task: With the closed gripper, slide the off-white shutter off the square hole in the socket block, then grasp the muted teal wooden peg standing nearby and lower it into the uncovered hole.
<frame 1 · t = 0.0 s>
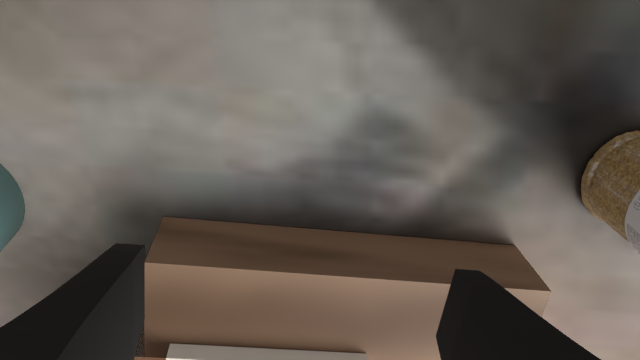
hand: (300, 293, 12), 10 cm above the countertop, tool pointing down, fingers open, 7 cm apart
sprinkles bottle: (622, 173, 23), on the countertop
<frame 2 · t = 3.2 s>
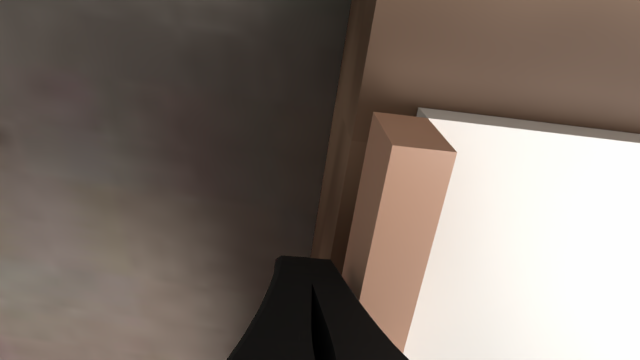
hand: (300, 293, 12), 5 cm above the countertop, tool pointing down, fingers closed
shutter: (527, 307, 13), point 5 cm above the countertop, slide at 0.4 cm, touching gripper
socket block: (551, 220, 18), on the countertop
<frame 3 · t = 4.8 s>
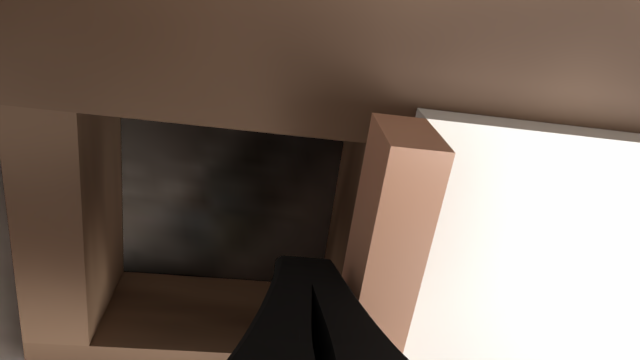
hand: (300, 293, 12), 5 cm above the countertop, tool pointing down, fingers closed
shutter: (527, 307, 13), point 5 cm above the countertop, slide at 8.2 cm, touching gripper
socket block: (324, 200, 17), on the countertop
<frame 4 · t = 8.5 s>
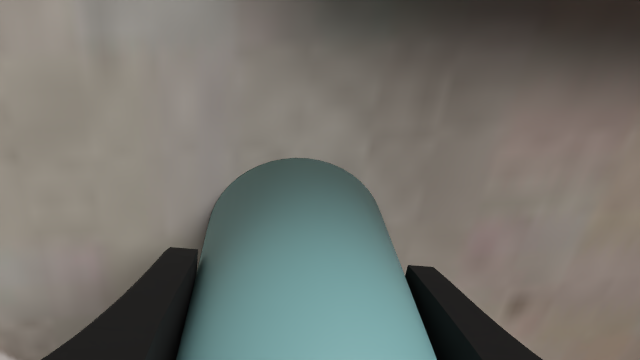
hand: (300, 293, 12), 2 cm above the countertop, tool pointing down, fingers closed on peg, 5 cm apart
peg: (296, 239, 14), on the countertop, touching gripper
when the fingers open (4 cm above the countertop, at t = 14.4 s): peg drops 2 cm, resting in socket block.
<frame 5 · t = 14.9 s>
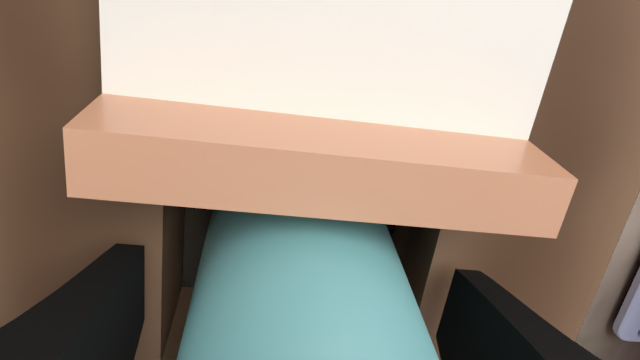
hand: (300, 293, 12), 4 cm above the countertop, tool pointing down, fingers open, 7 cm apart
peg: (294, 204, 16), resting in socket block
socket block: (306, 112, 15), on the countertop
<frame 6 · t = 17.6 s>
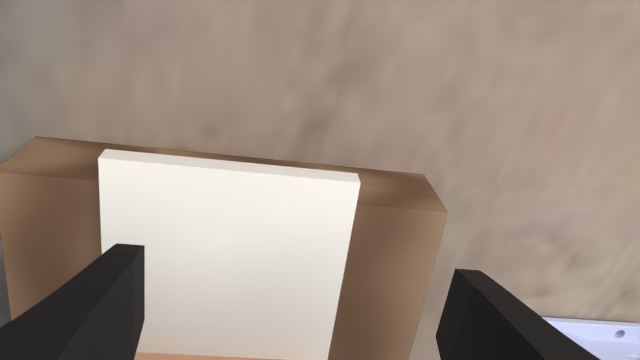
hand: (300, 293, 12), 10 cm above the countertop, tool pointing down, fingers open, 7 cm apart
shutter: (223, 295, 18), point 5 cm above the countertop, slide at 8.3 cm
socket block: (226, 310, 25), on the countertop
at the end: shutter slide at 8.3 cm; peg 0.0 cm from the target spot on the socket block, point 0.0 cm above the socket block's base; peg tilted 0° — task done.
